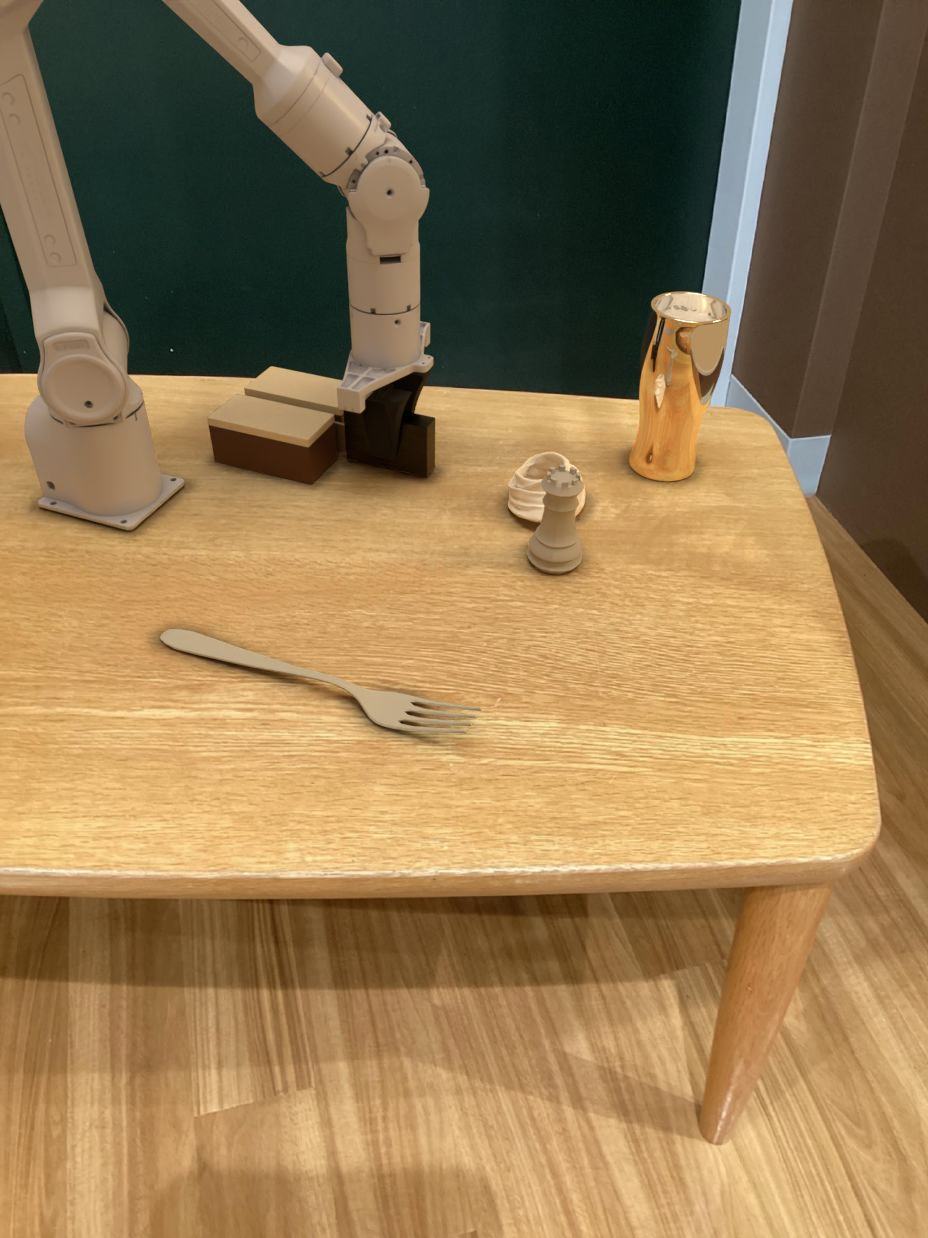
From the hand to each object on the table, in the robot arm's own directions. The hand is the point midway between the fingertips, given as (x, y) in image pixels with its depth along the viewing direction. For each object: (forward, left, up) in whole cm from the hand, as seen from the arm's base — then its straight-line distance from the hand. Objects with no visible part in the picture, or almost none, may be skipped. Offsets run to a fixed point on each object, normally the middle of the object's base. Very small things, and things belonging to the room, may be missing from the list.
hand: (389, 449), depth 83 cm
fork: (+7, -28, -2) cm, 29 cm away
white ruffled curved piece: (+15, -1, -2) cm, 15 cm away
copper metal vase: (+23, +10, -2) cm, 25 cm away
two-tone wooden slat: (-4, 0, -1) cm, 5 cm away
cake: (-10, -3, -2) cm, 11 cm away
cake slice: (-10, +3, -2) cm, 11 cm away
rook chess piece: (+18, -8, -2) cm, 20 cm away
